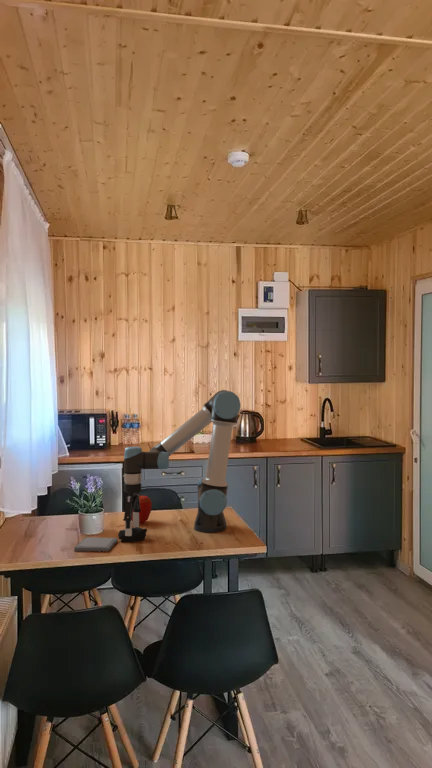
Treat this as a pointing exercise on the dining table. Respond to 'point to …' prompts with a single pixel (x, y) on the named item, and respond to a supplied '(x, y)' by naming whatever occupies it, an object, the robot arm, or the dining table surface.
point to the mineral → (133, 535)
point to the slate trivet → (96, 544)
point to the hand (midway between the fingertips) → (132, 531)
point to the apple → (144, 509)
